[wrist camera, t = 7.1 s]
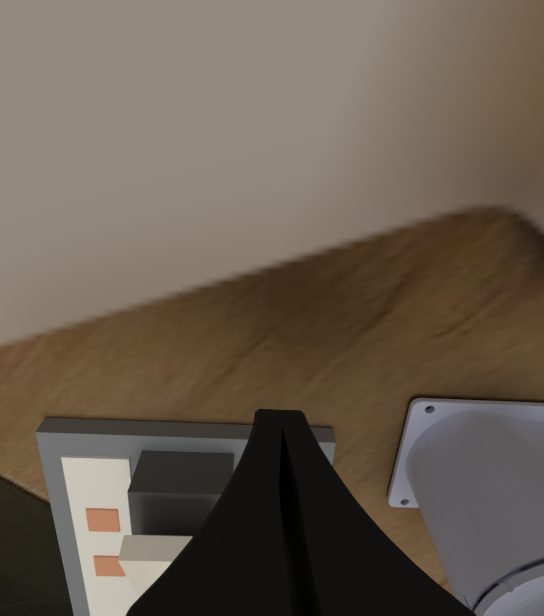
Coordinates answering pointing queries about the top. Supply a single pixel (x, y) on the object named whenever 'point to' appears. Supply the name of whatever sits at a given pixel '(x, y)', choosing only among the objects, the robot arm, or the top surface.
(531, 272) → the top surface
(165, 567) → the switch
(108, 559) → the switch panel
